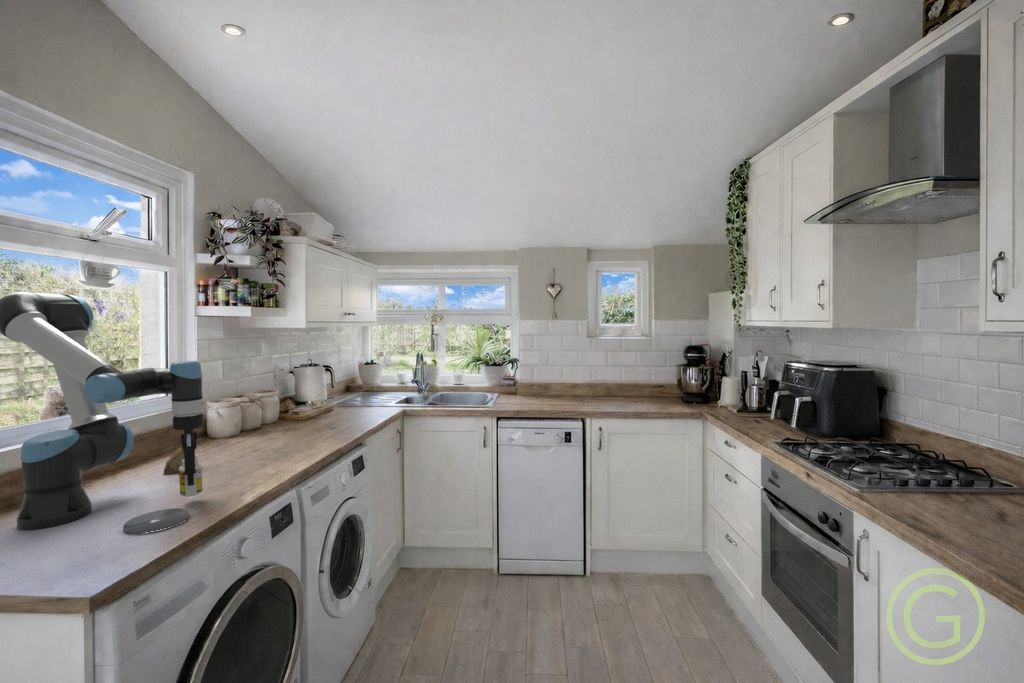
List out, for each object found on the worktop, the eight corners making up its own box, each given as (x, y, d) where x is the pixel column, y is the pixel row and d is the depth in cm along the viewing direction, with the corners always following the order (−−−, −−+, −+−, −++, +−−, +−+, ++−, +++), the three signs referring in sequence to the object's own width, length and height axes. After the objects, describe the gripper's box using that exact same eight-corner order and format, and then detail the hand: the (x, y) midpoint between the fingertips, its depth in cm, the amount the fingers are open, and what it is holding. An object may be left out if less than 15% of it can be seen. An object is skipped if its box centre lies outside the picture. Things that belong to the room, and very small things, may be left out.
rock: (155, 471, 170) (185, 465, 172) (158, 449, 175) (188, 443, 176) (171, 481, 179) (199, 475, 180) (173, 460, 183) (201, 454, 185)
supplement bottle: (176, 495, 143) (174, 460, 143) (196, 489, 148) (194, 455, 147) (186, 498, 140) (185, 463, 140) (206, 492, 145) (205, 458, 145)
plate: (120, 539, 120) (119, 534, 120) (127, 520, 132) (126, 516, 132) (188, 525, 128) (188, 520, 127) (189, 508, 139) (189, 504, 139)
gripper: (203, 417, 137) (206, 499, 138) (203, 408, 153) (206, 481, 154) (170, 421, 133) (174, 505, 134) (173, 410, 149) (177, 486, 150)
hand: (191, 492), depth 144 cm, fingers closed on supplement bottle, 6 cm apart
